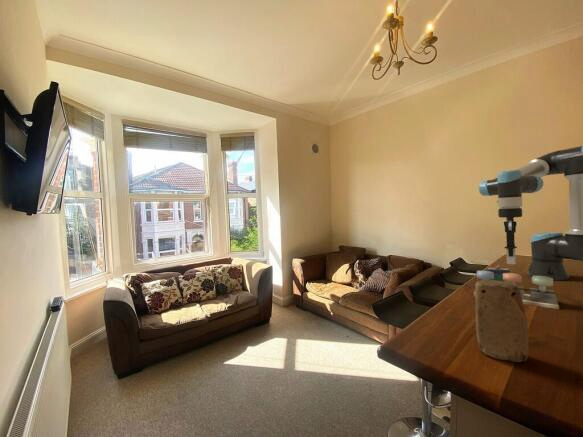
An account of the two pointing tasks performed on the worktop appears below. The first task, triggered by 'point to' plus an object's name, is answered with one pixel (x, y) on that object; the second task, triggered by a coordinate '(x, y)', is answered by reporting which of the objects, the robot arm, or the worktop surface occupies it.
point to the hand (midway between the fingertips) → (511, 263)
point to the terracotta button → (512, 278)
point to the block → (501, 321)
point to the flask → (498, 273)
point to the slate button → (485, 275)
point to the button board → (527, 301)
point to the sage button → (542, 282)
